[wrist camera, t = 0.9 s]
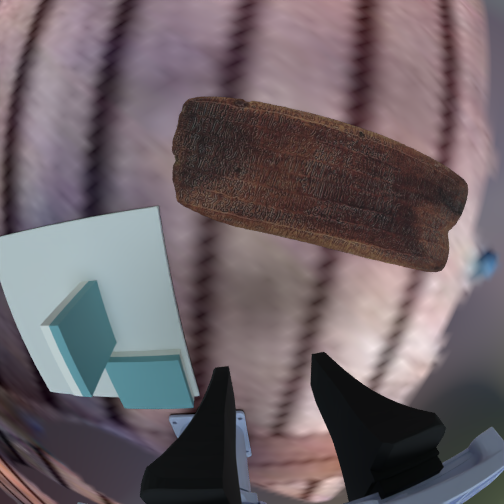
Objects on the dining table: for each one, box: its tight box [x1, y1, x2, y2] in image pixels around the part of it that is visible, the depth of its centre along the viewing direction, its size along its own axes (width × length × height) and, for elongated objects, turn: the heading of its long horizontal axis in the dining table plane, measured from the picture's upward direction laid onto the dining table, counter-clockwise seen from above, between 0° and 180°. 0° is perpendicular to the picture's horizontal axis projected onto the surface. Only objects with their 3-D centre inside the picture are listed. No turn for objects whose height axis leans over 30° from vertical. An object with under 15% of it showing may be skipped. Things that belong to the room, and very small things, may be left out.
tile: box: [40, 280, 117, 397], centre depth 18 cm, size 6×2×7 cm, turn 5°
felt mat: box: [0, 206, 199, 397], centre depth 22 cm, size 18×18×1 cm
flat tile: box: [105, 349, 194, 409], centre depth 23 cm, size 6×7×2 cm
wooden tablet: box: [172, 97, 468, 272], centre depth 21 cm, size 26×2×10 cm
